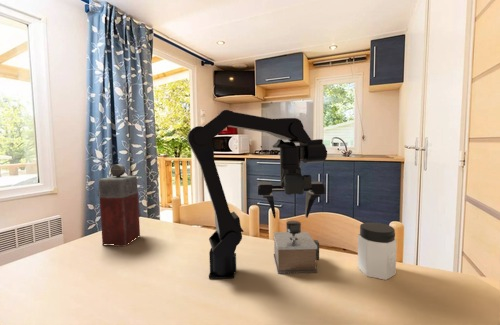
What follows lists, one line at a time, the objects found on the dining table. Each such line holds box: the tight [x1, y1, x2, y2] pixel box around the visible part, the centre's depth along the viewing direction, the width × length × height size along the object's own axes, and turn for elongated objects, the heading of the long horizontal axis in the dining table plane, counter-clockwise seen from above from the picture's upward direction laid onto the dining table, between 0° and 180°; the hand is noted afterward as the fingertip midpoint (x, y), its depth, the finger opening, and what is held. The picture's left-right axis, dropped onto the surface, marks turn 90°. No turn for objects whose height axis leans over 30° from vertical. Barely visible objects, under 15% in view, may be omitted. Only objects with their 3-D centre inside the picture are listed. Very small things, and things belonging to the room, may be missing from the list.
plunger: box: [285, 220, 302, 240], centre depth 69 cm, size 8×8×11 cm
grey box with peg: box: [273, 231, 320, 274], centre depth 70 cm, size 12×10×7 cm
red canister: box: [98, 163, 141, 246], centre depth 89 cm, size 9×11×28 cm
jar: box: [357, 221, 397, 281], centre depth 64 cm, size 9×8×12 cm
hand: (290, 217), depth 70 cm, fingers open, 9 cm apart
